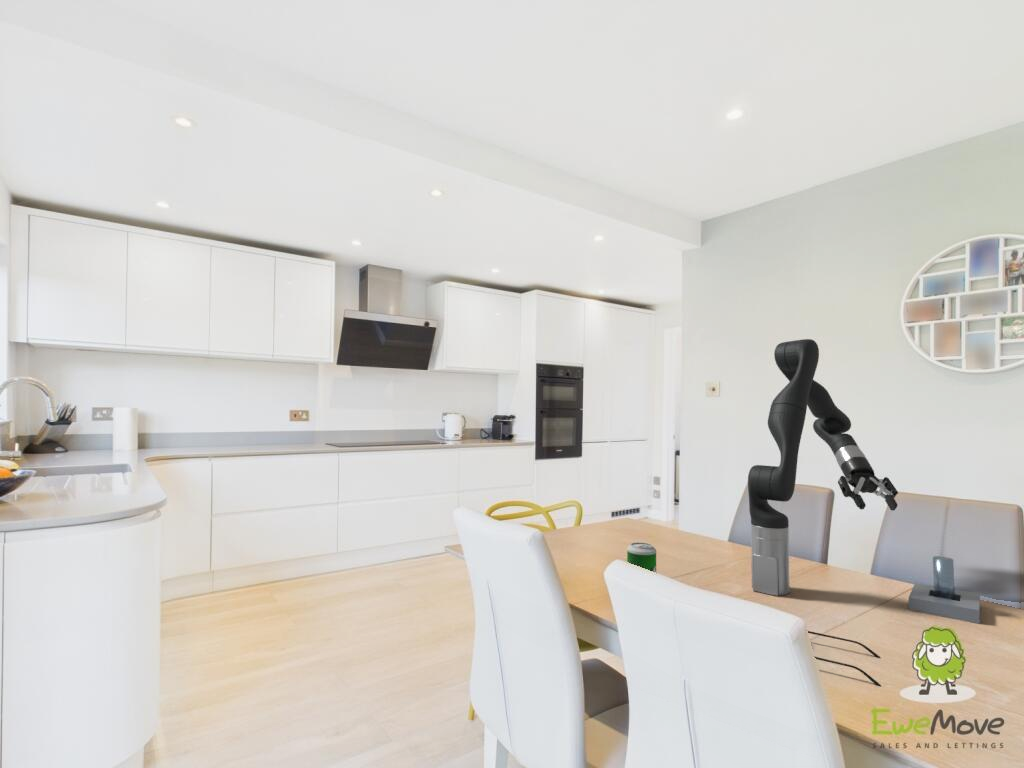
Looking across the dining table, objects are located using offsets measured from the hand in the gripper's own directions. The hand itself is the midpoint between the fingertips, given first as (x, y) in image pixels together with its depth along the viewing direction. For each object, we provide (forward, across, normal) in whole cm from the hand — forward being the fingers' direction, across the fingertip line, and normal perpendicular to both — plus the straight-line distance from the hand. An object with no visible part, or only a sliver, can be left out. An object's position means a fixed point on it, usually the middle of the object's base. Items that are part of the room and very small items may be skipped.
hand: (878, 508), depth 151 cm
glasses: (+50, -40, -17) cm, 66 cm away
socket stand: (+27, +5, +4) cm, 27 cm away
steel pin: (+27, +6, +4) cm, 27 cm away
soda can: (+22, -68, +10) cm, 72 cm away
